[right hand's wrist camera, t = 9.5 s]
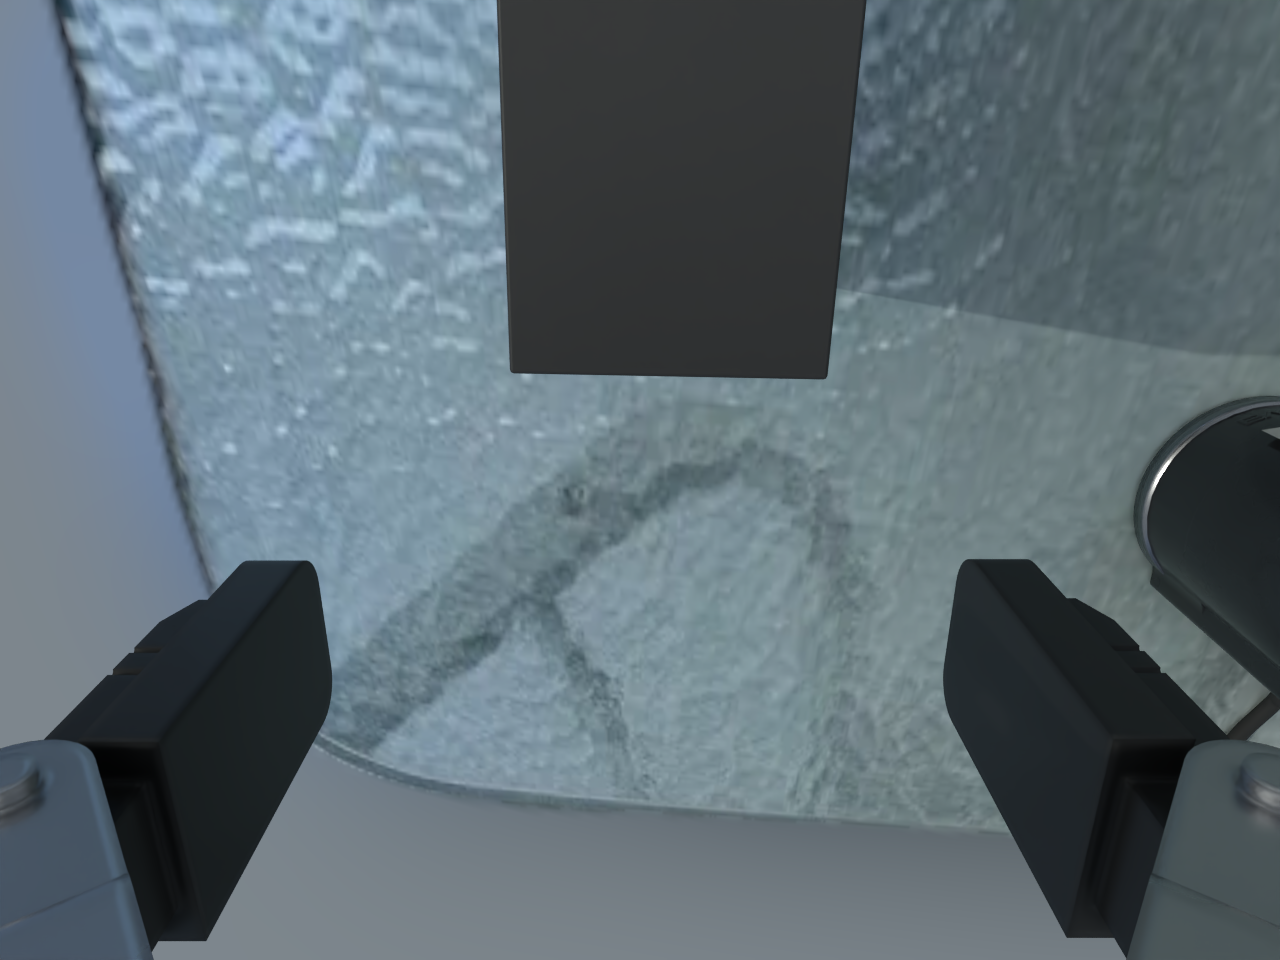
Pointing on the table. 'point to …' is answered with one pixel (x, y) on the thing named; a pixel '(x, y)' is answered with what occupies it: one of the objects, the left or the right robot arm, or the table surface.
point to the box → (675, 183)
